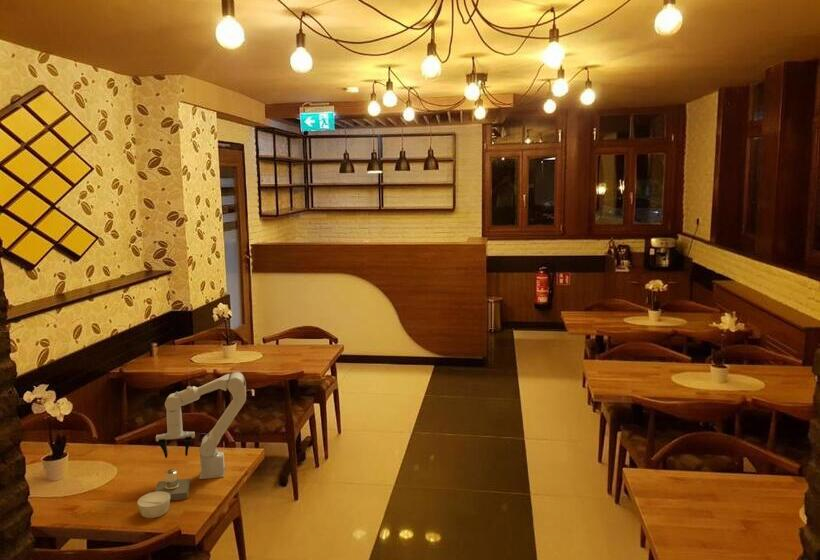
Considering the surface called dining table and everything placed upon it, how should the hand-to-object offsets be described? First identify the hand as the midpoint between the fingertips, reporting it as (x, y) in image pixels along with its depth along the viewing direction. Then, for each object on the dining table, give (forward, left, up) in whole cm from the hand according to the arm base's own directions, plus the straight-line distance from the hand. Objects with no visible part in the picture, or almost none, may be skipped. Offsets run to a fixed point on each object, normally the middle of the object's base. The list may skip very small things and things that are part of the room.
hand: (176, 455), depth 258 cm
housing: (0, +13, -7) cm, 15 cm away
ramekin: (+5, +26, -10) cm, 29 cm away
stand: (0, +13, -9) cm, 16 cm away
